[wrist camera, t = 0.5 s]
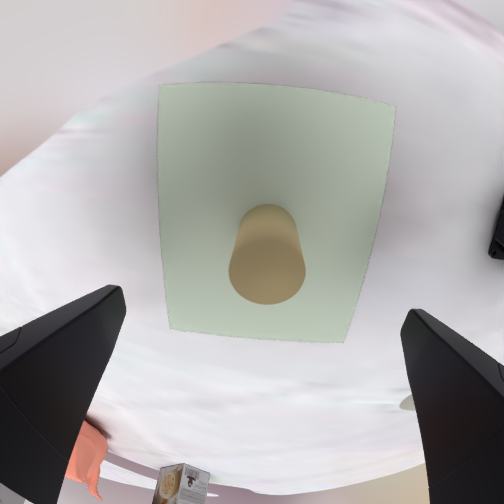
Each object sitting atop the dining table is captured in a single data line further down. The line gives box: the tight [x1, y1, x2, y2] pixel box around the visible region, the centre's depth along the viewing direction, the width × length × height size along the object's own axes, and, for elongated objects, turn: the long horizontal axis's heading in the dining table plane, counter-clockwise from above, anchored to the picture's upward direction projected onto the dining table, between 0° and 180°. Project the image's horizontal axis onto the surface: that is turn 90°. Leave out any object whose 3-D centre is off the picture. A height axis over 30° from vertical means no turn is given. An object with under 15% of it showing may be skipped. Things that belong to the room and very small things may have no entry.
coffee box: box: [152, 463, 210, 504], centre depth 35 cm, size 9×6×16 cm
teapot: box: [65, 420, 107, 500], centre depth 32 cm, size 18×18×14 cm
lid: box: [157, 82, 396, 343], centre depth 13 cm, size 11×14×5 cm
